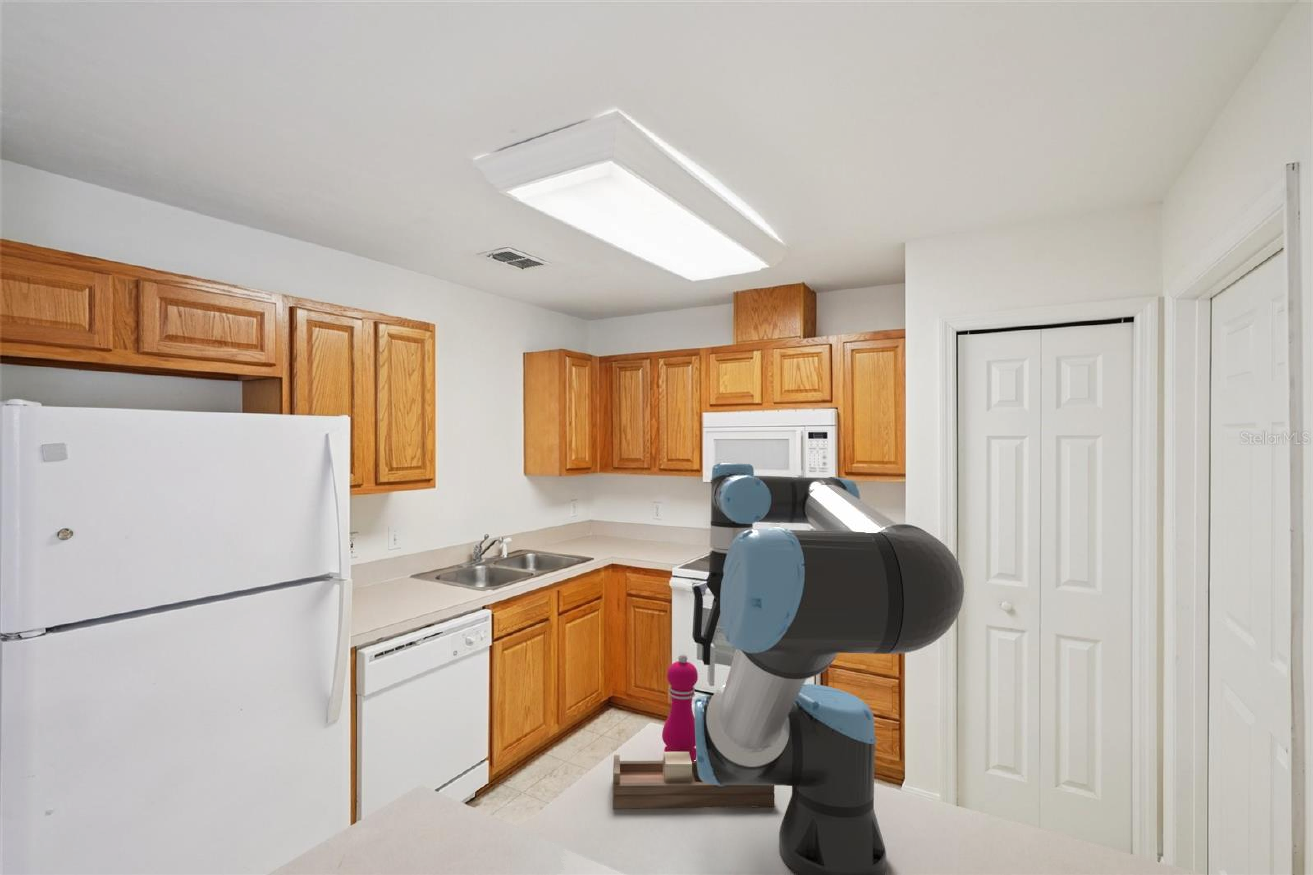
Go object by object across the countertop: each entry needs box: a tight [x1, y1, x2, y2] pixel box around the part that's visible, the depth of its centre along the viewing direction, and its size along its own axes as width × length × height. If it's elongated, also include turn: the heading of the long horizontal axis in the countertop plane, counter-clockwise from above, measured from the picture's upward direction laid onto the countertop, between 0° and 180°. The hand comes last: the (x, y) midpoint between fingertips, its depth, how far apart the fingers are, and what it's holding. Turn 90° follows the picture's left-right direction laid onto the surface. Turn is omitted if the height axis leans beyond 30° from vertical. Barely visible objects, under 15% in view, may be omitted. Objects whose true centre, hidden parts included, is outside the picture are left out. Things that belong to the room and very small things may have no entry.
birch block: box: [662, 751, 692, 782], centre depth 106 cm, size 4×4×4 cm
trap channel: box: [612, 754, 776, 809], centre depth 106 cm, size 9×27×5 cm, turn 94°
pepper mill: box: [661, 653, 699, 761], centre depth 119 cm, size 7×7×20 cm
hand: (727, 683), depth 107 cm, fingers open, 5 cm apart
